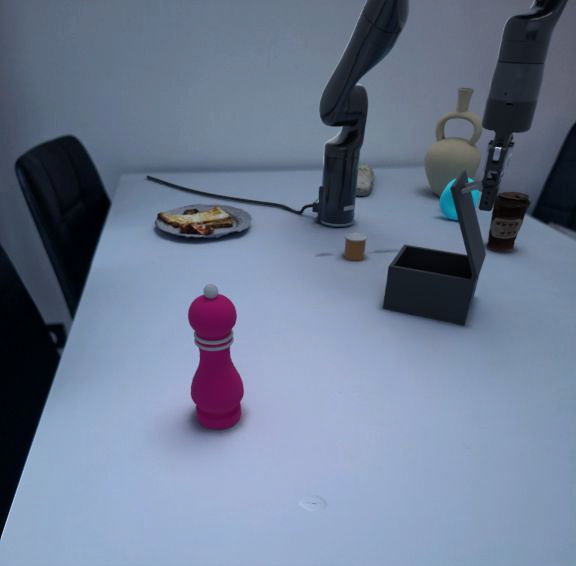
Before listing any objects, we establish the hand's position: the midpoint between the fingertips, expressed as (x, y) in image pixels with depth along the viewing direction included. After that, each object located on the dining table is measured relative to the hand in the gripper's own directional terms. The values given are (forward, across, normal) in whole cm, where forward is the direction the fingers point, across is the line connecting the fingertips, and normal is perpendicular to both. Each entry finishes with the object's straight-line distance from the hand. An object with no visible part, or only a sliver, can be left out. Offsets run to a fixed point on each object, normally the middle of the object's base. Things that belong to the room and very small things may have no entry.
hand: (487, 204), depth 92 cm
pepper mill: (+21, +49, -27) cm, 59 cm away
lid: (+4, 0, -3) cm, 5 cm away
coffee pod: (+20, -17, -28) cm, 38 cm away
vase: (+20, -82, -17) cm, 86 cm away
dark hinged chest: (+20, 0, -7) cm, 21 cm away
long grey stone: (+20, -82, -47) cm, 96 cm away
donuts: (+20, -60, -11) cm, 64 cm away
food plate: (+20, -19, -70) cm, 75 cm away
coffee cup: (+21, -39, +3) cm, 44 cm away
